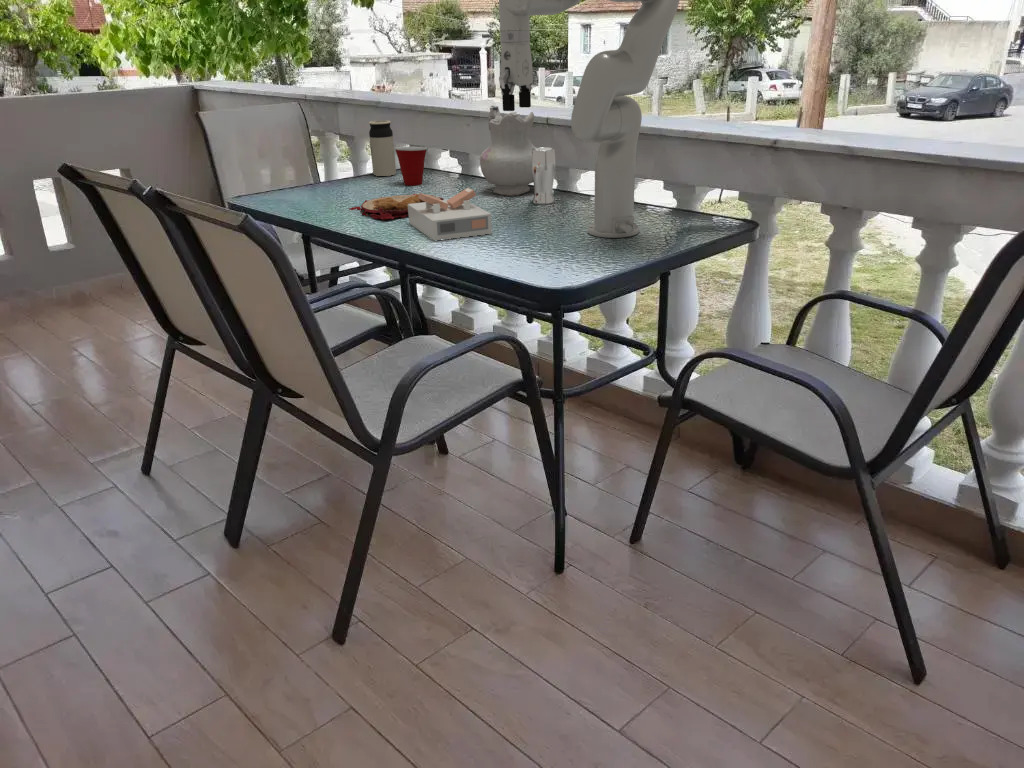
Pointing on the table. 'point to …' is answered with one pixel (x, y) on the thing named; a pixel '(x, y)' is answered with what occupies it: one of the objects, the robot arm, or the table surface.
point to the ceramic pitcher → (508, 153)
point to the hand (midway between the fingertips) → (517, 109)
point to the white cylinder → (543, 174)
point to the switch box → (449, 220)
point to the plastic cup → (411, 164)
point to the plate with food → (390, 206)
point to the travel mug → (382, 148)
